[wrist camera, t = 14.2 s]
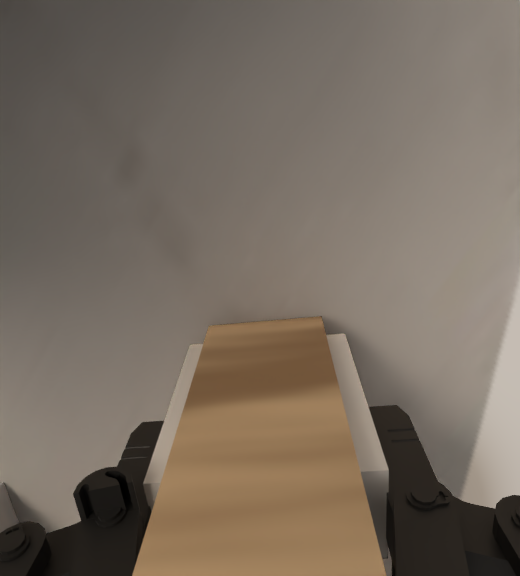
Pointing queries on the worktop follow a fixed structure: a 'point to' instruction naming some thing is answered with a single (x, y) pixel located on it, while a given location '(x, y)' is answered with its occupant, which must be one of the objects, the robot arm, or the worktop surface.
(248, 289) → the worktop surface
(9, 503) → the grey hooked tool
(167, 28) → the worktop surface
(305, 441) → the crook tool
